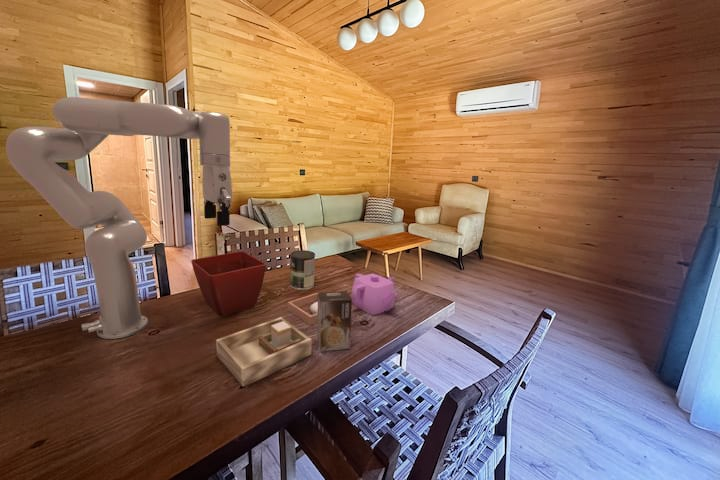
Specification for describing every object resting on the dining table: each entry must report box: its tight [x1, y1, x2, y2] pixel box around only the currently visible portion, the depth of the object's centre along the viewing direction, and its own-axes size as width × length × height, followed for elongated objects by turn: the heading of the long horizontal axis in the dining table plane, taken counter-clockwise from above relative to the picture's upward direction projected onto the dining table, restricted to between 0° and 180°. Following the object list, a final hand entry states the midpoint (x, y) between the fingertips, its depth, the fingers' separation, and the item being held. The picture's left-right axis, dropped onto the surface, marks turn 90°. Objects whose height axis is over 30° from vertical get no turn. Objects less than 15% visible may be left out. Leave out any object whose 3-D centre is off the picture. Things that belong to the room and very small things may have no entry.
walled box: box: [215, 316, 313, 388], centre depth 89 cm, size 20×16×5 cm
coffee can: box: [289, 249, 316, 291], centre depth 135 cm, size 10×10×14 cm
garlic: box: [309, 301, 318, 315], centre depth 115 cm, size 8×7×4 cm
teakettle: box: [350, 272, 399, 316], centre depth 121 cm, size 17×17×12 cm
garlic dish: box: [287, 292, 319, 326], centre depth 115 cm, size 14×14×3 cm
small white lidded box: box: [271, 321, 291, 348], centre depth 92 cm, size 4×4×6 cm
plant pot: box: [191, 250, 267, 317], centre depth 113 cm, size 19×19×17 cm
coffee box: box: [316, 290, 353, 353], centre depth 94 cm, size 9×6×16 cm
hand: (216, 221), depth 92 cm, fingers open, 9 cm apart
